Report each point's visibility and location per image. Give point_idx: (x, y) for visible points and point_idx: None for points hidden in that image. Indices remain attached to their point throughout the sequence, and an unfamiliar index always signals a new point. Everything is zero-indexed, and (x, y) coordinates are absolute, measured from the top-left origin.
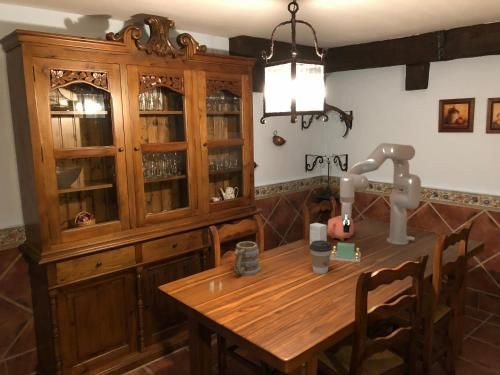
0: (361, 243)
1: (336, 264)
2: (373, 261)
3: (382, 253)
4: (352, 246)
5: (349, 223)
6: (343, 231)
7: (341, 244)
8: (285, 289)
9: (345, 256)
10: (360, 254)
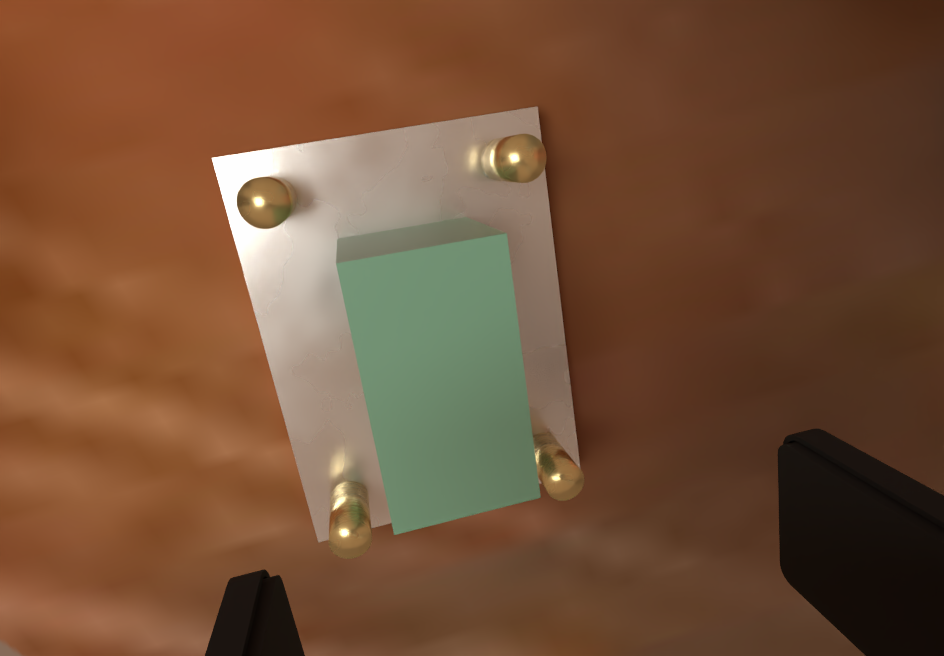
0: (922, 367)
1: (73, 300)
2: (404, 630)
3: (671, 627)
4: (389, 512)
5: (874, 647)
6: (227, 597)
7: (419, 322)
8: None
9: None
10: None
